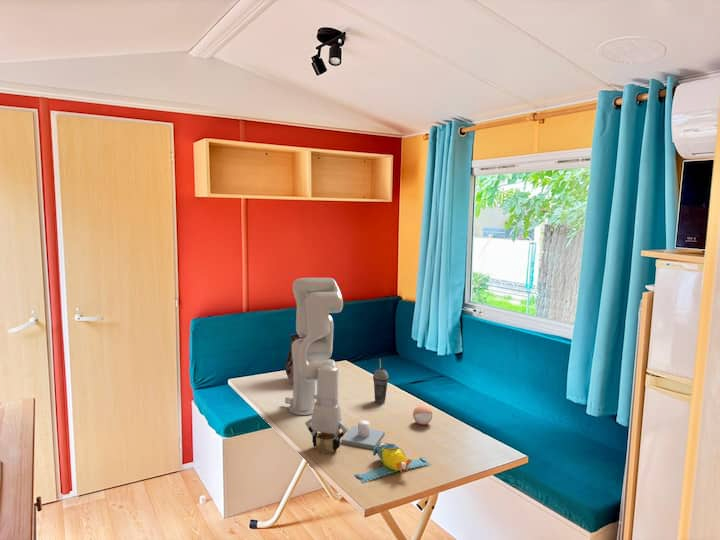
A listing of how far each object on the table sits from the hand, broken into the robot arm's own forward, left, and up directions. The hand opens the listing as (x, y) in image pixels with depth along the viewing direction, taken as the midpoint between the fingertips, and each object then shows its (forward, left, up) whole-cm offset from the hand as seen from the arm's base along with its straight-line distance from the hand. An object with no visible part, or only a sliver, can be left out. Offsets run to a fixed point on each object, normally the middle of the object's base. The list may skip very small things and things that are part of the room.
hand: (326, 446), depth 181 cm
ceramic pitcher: (-37, +63, -1) cm, 73 cm away
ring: (0, 0, -1) cm, 1 cm away
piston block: (+10, +13, -1) cm, 16 cm away
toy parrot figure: (+26, -4, -2) cm, 26 cm away
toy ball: (+28, +36, -1) cm, 46 cm away
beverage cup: (+5, +52, -1) cm, 52 cm away
